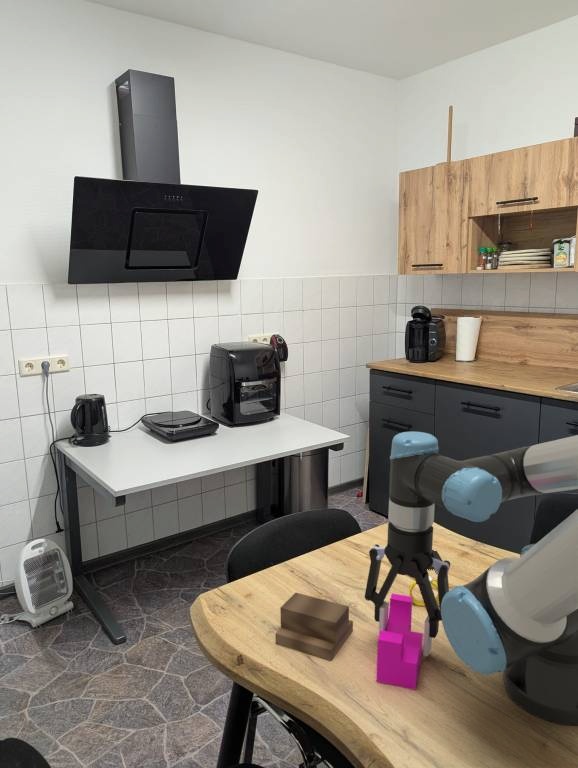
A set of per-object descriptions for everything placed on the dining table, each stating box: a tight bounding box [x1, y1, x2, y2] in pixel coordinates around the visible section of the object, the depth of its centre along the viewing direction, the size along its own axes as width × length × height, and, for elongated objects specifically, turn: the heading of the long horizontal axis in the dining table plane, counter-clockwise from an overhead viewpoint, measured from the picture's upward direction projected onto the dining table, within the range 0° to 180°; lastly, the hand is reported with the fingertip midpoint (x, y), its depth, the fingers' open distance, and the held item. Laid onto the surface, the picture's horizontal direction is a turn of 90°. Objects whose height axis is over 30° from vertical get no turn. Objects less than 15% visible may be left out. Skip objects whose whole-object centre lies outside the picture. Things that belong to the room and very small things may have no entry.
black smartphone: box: [427, 549, 444, 571], centre depth 138 cm, size 5×1×10 cm
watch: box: [408, 575, 439, 607], centre depth 118 cm, size 6×3×6 cm, turn 80°
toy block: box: [375, 593, 424, 691], centre depth 101 cm, size 15×6×8 cm, turn 162°
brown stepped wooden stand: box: [275, 592, 354, 661], centre depth 107 cm, size 11×10×6 cm
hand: (404, 644), depth 103 cm, fingers open, 7 cm apart
